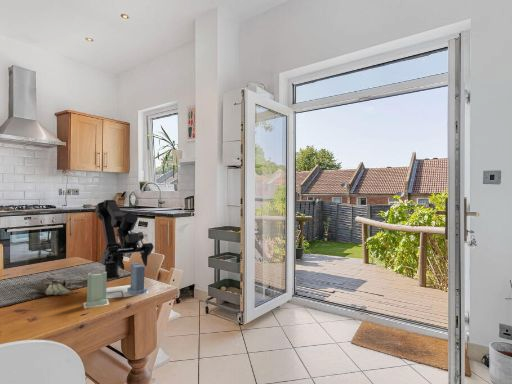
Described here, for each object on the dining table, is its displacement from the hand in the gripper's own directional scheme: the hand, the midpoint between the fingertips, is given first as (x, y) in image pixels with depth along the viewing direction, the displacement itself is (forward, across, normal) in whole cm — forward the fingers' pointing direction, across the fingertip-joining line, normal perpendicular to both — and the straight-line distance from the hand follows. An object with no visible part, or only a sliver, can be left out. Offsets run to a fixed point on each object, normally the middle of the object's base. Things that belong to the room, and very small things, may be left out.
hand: (135, 267), depth 122 cm
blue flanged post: (+8, 0, +5) cm, 10 cm away
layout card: (+7, -7, +7) cm, 12 cm away
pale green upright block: (+11, -16, +2) cm, 20 cm away
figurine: (-5, -24, +20) cm, 32 cm away
